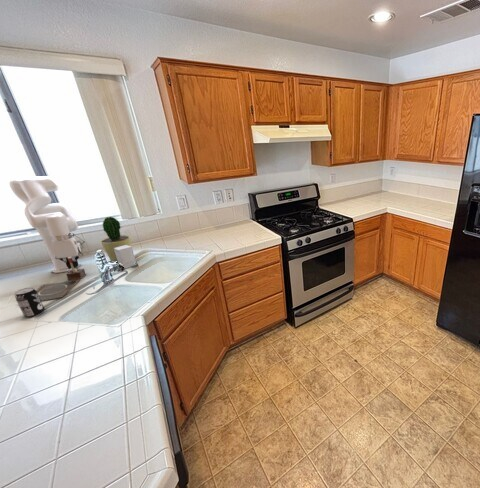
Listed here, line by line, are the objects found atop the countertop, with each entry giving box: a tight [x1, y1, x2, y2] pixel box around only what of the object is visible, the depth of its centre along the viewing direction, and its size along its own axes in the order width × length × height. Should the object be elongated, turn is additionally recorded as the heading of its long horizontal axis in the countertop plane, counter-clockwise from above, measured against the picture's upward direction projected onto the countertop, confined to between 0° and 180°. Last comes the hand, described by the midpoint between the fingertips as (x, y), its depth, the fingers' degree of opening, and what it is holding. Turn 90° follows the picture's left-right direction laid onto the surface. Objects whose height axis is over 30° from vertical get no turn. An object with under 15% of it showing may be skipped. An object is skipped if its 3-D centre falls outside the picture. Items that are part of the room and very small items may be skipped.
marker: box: [68, 258, 78, 272], centre depth 150 cm, size 2×2×12 cm
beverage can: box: [14, 286, 45, 318], centre depth 117 cm, size 7×7×12 cm
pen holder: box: [65, 268, 87, 281], centre depth 152 cm, size 6×6×4 cm
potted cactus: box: [100, 216, 132, 262], centre depth 171 cm, size 15×15×30 cm
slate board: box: [35, 279, 81, 302], centre depth 137 cm, size 20×16×1 cm
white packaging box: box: [114, 245, 138, 269], centre depth 165 cm, size 7×7×13 cm
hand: (73, 267), depth 150 cm, fingers closed on marker, 2 cm apart
